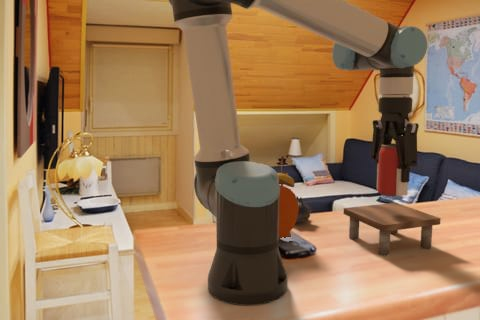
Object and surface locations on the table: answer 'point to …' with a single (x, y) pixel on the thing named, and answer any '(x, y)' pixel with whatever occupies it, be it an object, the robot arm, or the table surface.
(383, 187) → the beer can
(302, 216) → the frog
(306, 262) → the table surface
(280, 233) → the alarm clock
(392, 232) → the peg shelf
